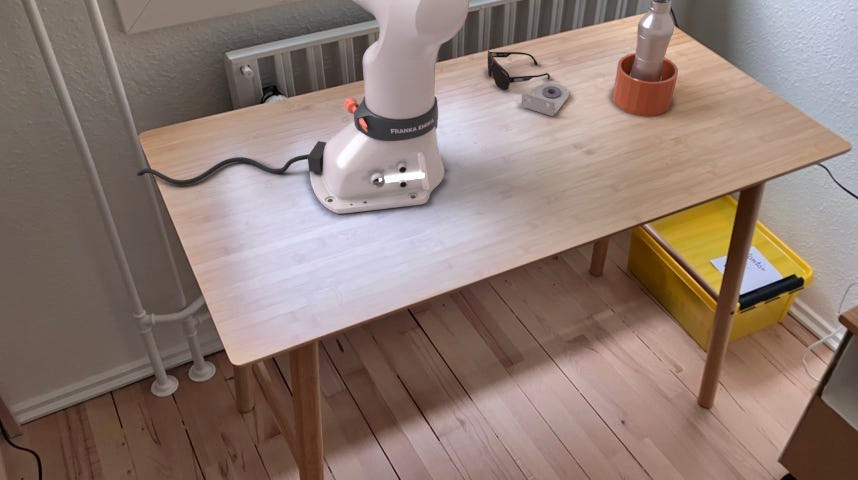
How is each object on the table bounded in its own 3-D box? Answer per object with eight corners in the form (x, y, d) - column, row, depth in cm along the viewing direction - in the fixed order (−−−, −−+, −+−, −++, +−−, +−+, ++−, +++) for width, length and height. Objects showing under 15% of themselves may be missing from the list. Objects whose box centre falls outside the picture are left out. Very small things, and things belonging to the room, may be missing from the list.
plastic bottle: (617, 92, 162) (634, -5, 148) (646, 85, 164) (665, -12, 150) (637, 109, 158) (656, 10, 144) (665, 101, 160) (687, 3, 146)
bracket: (573, 93, 162) (575, 77, 160) (552, 118, 156) (554, 102, 153) (542, 83, 164) (544, 68, 162) (520, 108, 158) (522, 92, 155)
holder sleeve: (632, 120, 156) (638, 88, 151) (602, 90, 163) (607, 58, 158) (682, 109, 160) (689, 76, 155) (650, 80, 167) (656, 48, 162)
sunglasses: (478, 69, 167) (481, 46, 164) (530, 65, 172) (535, 43, 169) (499, 95, 160) (504, 72, 157) (553, 91, 165) (559, 68, 162)
